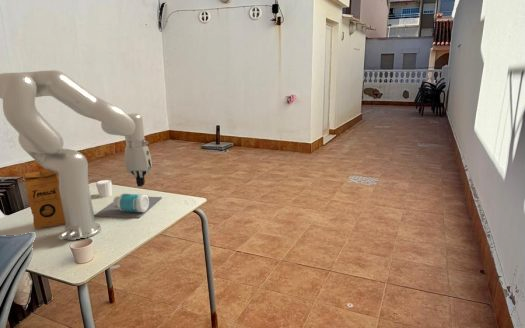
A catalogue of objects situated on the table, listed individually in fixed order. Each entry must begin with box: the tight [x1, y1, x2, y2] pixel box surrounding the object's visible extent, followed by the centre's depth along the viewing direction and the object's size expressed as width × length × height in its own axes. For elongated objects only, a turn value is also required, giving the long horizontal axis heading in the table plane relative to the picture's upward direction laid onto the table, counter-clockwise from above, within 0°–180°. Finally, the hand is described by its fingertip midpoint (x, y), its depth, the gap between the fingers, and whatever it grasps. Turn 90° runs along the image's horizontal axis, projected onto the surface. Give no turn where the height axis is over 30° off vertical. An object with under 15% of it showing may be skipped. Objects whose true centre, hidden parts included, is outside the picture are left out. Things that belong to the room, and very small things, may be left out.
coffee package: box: [23, 170, 66, 230], centre depth 133 cm, size 10×12×22 cm
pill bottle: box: [112, 193, 149, 212], centre depth 144 cm, size 8×7×14 cm
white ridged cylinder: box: [95, 179, 113, 198], centre depth 165 cm, size 7×7×7 cm
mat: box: [94, 196, 163, 219], centre depth 151 cm, size 22×20×1 cm
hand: (141, 185), depth 147 cm, fingers closed
